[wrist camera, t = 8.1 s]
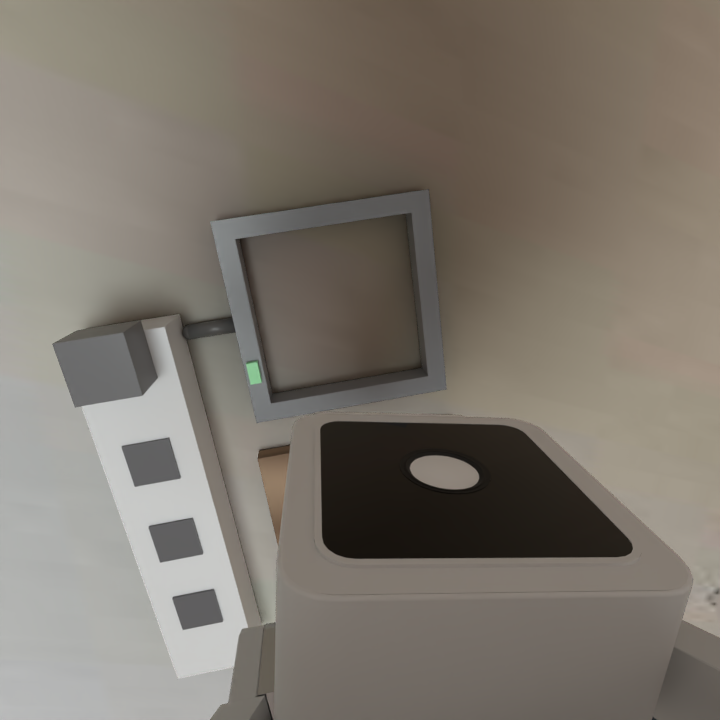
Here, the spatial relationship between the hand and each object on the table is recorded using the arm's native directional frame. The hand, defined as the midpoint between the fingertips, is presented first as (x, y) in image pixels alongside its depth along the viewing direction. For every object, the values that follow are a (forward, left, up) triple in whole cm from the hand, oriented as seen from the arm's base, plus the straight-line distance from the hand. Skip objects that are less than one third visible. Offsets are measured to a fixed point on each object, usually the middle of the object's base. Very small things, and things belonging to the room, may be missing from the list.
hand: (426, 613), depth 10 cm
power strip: (+7, -9, -19) cm, 22 cm away
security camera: (0, 0, -7) cm, 7 cm away
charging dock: (-3, 0, -19) cm, 19 cm away
